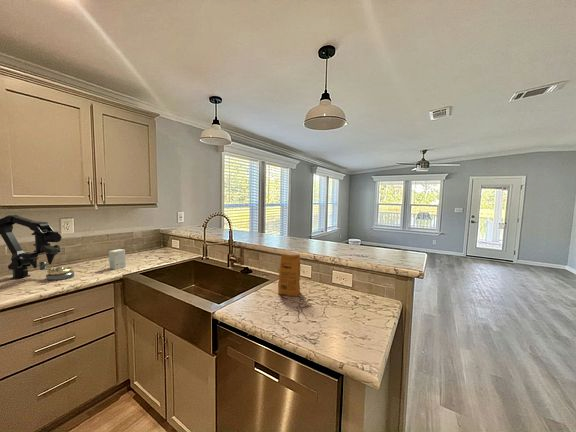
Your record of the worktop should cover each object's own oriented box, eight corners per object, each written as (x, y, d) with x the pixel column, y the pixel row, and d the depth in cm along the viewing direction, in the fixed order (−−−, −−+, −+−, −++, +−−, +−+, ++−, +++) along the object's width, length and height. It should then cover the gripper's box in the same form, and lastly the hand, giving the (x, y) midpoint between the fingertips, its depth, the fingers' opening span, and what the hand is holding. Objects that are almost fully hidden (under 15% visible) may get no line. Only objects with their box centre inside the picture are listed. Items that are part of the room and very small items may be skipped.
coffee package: (281, 288, 141) (282, 251, 140) (302, 291, 137) (302, 253, 136) (275, 294, 132) (275, 255, 130) (297, 297, 128) (297, 257, 126)
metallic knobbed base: (76, 270, 160) (75, 260, 159) (60, 275, 149) (60, 264, 148) (49, 270, 160) (49, 259, 160) (31, 275, 149) (31, 264, 149)
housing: (36, 281, 148) (36, 276, 148) (63, 272, 166) (63, 268, 166) (61, 281, 148) (60, 276, 148) (85, 272, 166) (85, 268, 166)
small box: (120, 265, 184) (119, 248, 183) (126, 266, 182) (125, 249, 181) (109, 268, 177) (108, 250, 176) (115, 269, 174) (114, 251, 174)
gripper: (38, 244, 144) (40, 270, 145) (67, 239, 162) (68, 262, 163) (20, 244, 144) (21, 270, 145) (51, 239, 163) (52, 262, 164)
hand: (42, 266), depth 154 cm, fingers open, 9 cm apart
